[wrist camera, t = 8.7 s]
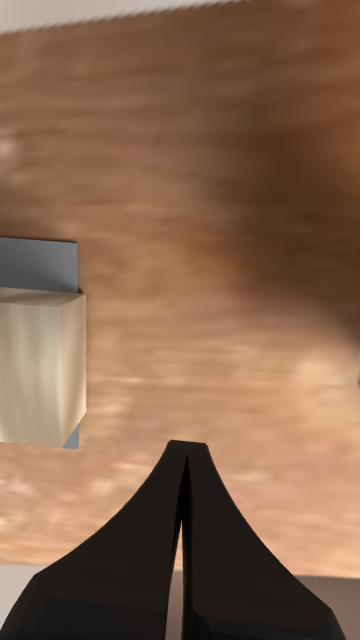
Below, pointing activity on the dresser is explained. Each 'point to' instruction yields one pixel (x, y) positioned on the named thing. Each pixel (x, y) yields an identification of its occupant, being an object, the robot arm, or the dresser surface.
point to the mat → (40, 274)
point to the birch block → (41, 365)
